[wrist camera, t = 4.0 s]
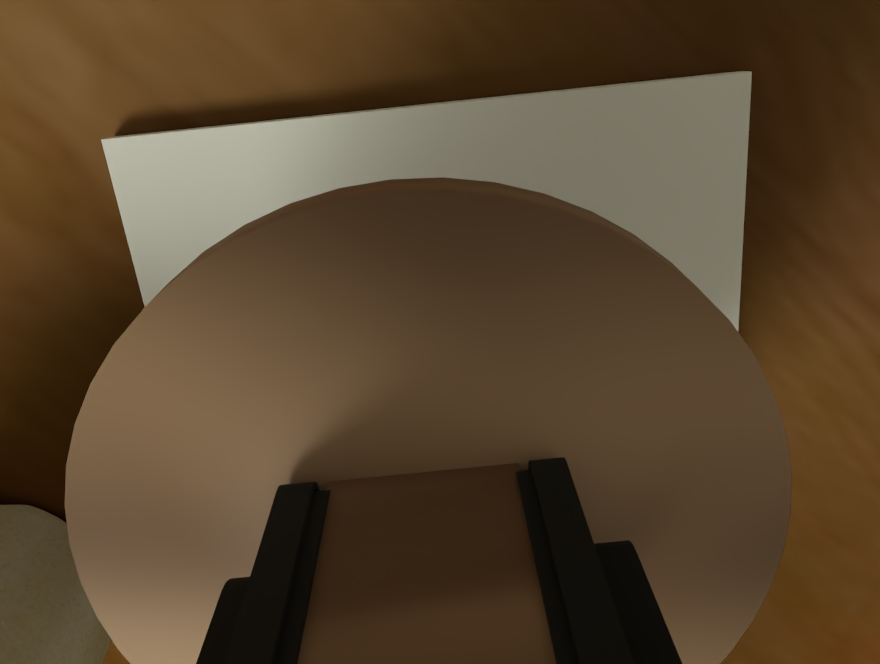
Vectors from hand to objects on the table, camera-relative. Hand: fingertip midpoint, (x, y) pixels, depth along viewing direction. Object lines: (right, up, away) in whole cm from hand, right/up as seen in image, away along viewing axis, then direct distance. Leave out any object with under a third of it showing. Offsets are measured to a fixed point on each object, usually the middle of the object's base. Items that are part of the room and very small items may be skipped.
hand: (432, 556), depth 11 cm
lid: (0, 0, +1) cm, 1 cm away
